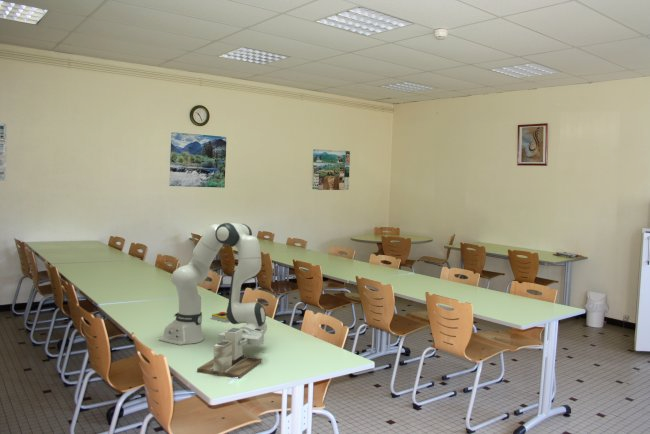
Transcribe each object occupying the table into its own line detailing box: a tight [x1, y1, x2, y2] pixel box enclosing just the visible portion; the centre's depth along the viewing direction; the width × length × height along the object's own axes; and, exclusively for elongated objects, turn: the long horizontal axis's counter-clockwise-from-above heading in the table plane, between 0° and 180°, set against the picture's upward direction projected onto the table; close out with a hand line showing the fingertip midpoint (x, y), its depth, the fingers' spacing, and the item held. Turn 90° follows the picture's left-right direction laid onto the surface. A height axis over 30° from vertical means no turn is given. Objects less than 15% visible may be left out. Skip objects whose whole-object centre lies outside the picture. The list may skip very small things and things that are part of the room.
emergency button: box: [209, 311, 231, 324], centre depth 318 cm, size 9×4×15 cm
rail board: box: [196, 340, 263, 379], centre depth 237 cm, size 20×22×13 cm
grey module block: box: [224, 327, 243, 360], centre depth 239 cm, size 5×7×12 cm
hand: (232, 343), depth 238 cm, fingers closed on grey module block, 5 cm apart
